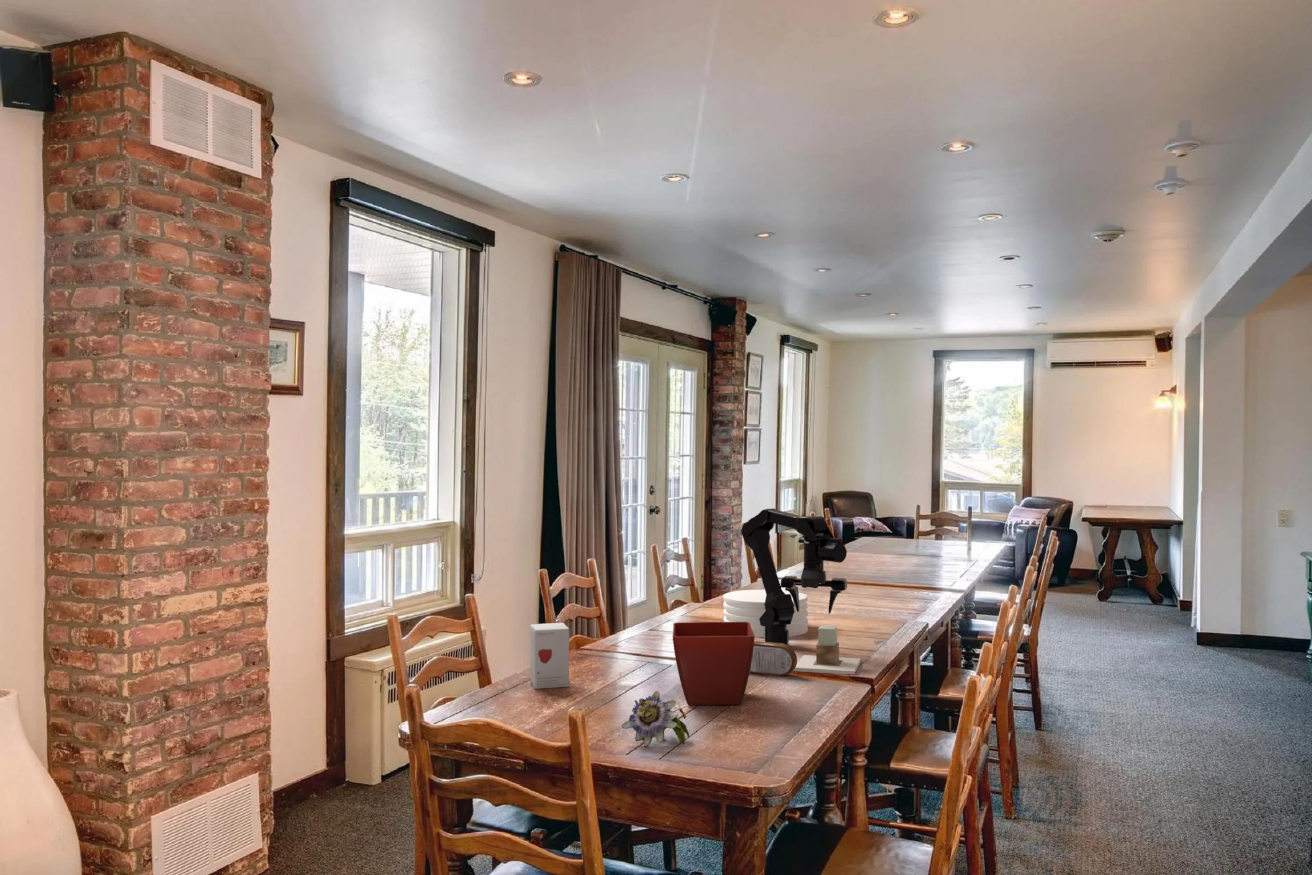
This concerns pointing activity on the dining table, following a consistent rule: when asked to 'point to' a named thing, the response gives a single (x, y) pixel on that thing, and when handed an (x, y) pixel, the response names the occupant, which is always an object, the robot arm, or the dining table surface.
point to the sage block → (827, 635)
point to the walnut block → (827, 654)
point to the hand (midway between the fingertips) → (813, 612)
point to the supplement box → (549, 655)
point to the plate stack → (761, 611)
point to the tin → (773, 659)
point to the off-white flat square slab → (828, 665)
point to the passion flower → (655, 719)
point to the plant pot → (713, 660)
